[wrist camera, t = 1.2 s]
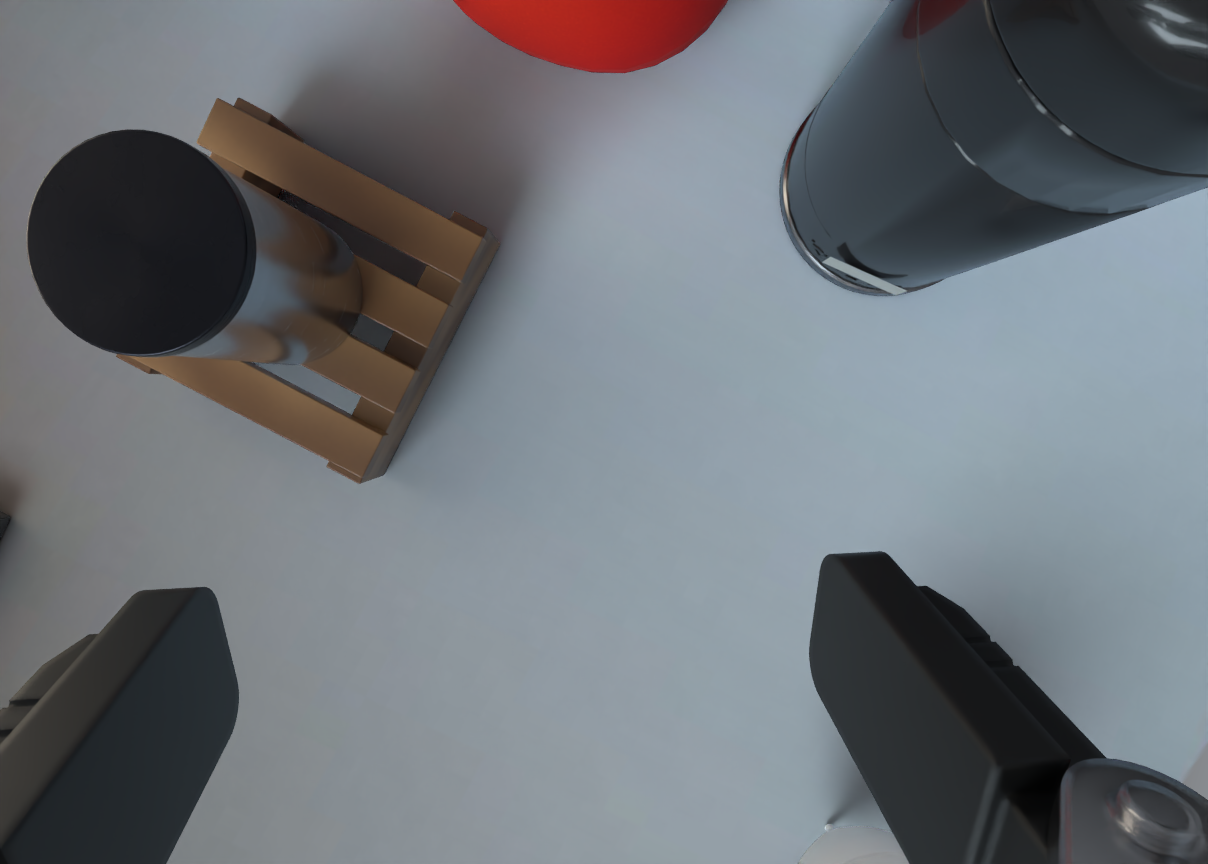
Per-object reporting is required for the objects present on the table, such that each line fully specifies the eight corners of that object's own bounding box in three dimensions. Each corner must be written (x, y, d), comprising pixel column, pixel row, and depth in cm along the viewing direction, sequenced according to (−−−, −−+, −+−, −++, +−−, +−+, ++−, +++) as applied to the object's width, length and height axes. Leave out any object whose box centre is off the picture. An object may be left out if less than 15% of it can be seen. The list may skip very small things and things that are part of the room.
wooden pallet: (269, 122, 31) (222, 85, 28) (504, 245, 32) (488, 226, 28) (157, 357, 32) (96, 353, 28) (387, 477, 32) (356, 489, 29)
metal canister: (255, 185, 28) (81, 88, 19) (392, 257, 28) (283, 194, 19) (189, 323, 28) (-11, 292, 19) (324, 393, 28) (187, 395, 19)
